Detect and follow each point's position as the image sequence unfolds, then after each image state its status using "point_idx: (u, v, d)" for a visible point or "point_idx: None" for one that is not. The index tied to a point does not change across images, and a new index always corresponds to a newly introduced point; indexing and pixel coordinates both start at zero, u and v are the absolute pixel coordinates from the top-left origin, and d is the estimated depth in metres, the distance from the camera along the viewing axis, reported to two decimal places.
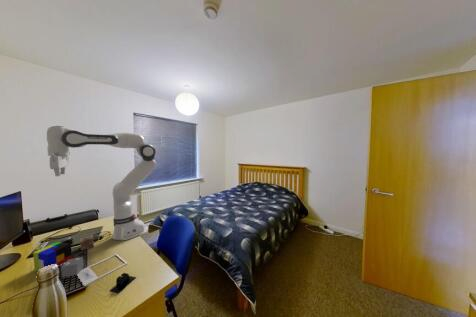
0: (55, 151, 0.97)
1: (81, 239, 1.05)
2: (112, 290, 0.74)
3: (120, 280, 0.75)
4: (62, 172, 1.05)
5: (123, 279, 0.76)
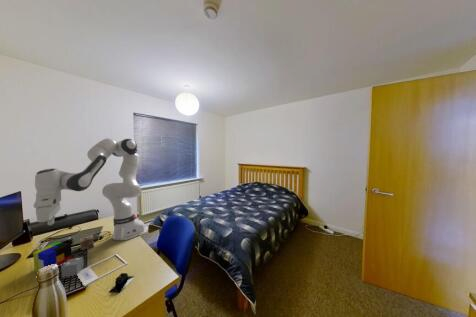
0: None
1: (81, 239, 1.05)
2: (112, 291, 0.73)
3: (120, 280, 0.75)
4: None
5: (123, 279, 0.76)
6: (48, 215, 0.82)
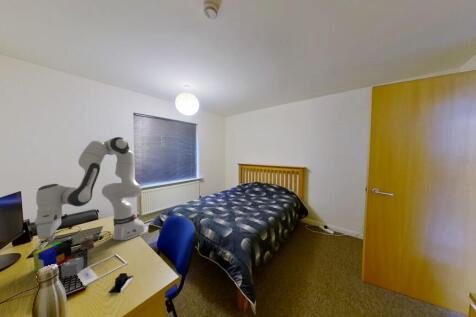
0: None
1: (81, 239, 1.05)
2: (112, 291, 0.73)
3: (120, 280, 0.75)
4: None
5: (122, 278, 0.76)
6: (49, 232, 0.82)
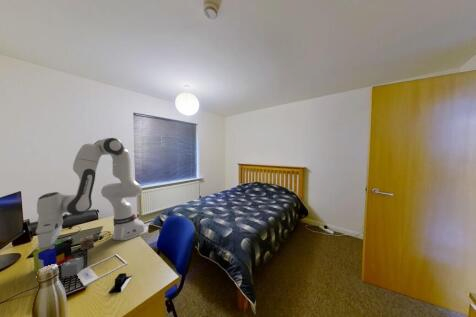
0: None
1: (81, 239, 1.05)
2: (112, 291, 0.73)
3: (120, 280, 0.75)
4: None
5: (122, 278, 0.76)
6: (50, 241, 0.82)
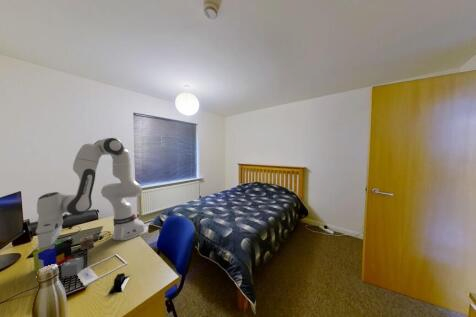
0: None
1: (81, 239, 1.05)
2: (112, 292, 0.73)
3: (119, 280, 0.75)
4: None
5: (122, 278, 0.76)
6: (50, 241, 0.82)
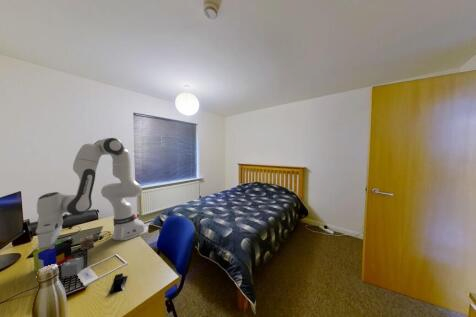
0: None
1: (81, 239, 1.05)
2: (112, 292, 0.73)
3: (119, 280, 0.75)
4: None
5: (121, 278, 0.76)
6: (50, 241, 0.82)
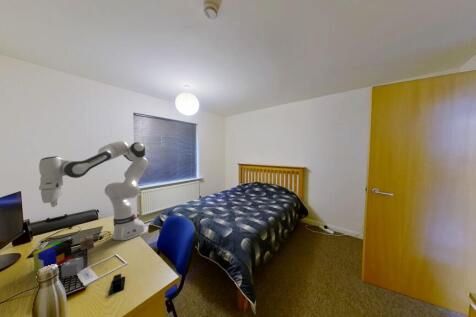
0: None
1: (81, 239, 1.05)
2: (112, 292, 0.72)
3: (119, 279, 0.75)
4: None
5: (120, 278, 0.76)
6: (52, 196, 0.92)
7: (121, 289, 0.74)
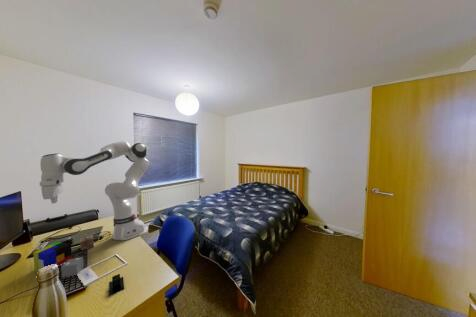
0: None
1: (81, 239, 1.05)
2: (112, 292, 0.72)
3: (118, 280, 0.75)
4: None
5: (120, 278, 0.76)
6: (52, 193, 0.93)
7: (121, 289, 0.74)
